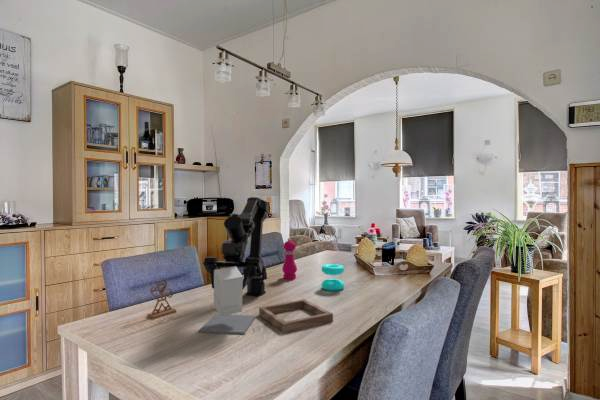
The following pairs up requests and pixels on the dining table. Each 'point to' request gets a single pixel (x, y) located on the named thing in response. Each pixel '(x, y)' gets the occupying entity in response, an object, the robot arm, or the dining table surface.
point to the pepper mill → (289, 260)
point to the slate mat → (228, 324)
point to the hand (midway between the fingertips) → (227, 288)
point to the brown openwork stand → (166, 310)
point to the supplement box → (228, 291)
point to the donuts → (332, 283)
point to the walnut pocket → (319, 318)
